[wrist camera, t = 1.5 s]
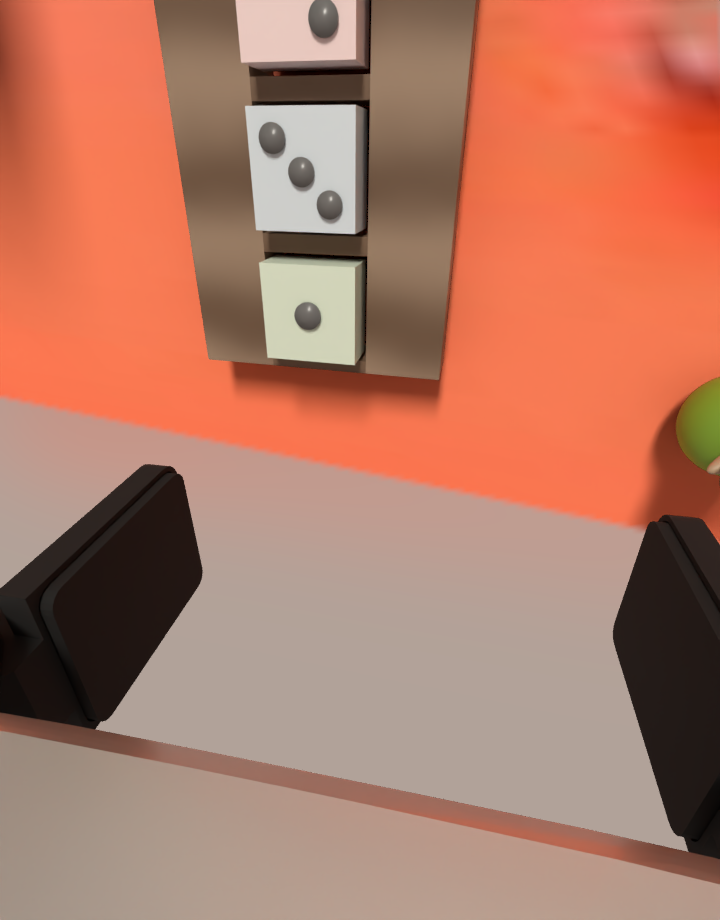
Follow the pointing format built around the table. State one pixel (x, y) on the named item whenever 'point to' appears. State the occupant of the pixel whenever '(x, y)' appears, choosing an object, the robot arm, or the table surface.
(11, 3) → the table surface
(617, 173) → the table surface
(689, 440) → the snail figurine
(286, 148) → the three dot tile
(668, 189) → the table surface
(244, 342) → the counting board
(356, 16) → the two dot tile
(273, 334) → the cream knobbed tile
